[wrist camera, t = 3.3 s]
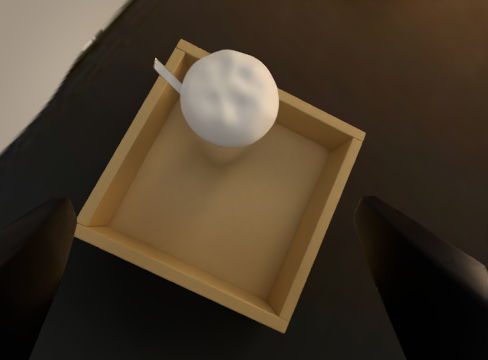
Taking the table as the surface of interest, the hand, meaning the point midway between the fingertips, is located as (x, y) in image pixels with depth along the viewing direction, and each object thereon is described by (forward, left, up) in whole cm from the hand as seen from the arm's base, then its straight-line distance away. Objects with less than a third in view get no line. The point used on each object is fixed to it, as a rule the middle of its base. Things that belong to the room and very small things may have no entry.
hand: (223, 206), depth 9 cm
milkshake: (+5, +2, -12) cm, 13 cm away
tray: (+2, 0, -12) cm, 12 cm away
